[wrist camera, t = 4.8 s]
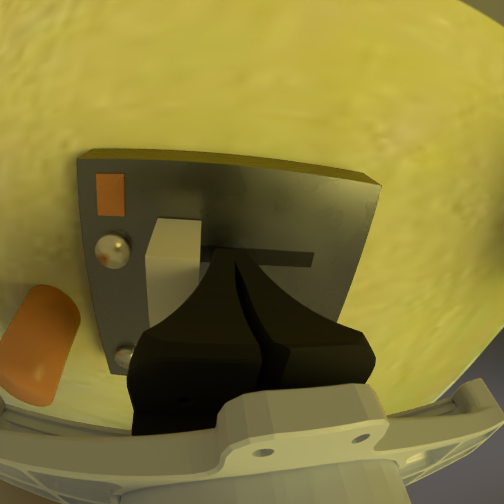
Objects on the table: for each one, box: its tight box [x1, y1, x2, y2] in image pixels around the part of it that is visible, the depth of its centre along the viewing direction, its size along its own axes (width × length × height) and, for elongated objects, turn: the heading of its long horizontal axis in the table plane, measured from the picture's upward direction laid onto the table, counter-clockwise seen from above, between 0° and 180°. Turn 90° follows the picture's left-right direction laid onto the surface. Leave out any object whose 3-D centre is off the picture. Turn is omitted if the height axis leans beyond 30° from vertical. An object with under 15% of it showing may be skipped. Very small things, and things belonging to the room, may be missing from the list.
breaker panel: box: [77, 149, 382, 376], centre depth 16 cm, size 13×13×2 cm
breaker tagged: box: [145, 218, 201, 328], centre depth 12 cm, size 3×2×3 cm, turn 172°
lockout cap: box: [0, 285, 81, 407], centre depth 14 cm, size 4×4×6 cm
